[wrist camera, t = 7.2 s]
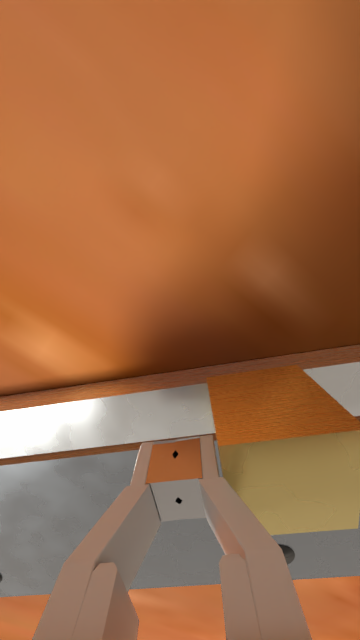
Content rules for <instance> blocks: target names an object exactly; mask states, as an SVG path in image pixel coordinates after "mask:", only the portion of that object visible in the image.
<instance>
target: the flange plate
mask: <svg viewBox="0 0 360 640" xmlns="http://www.w3.org/2000/svg"><path fill="white" fill-rule="evenodd" d="M354 417H355V418H356V419H357V420H358V421H359V422H360V416H354ZM206 435H213V439H214V445H215V451H216V457H217V463H218V469H219V475H220V477H223V475H222V469H221V464H220V458H219V452H218V446H217V440H216V434H215V433H211V434H203V435H194V436H186V437H178V438H169V439H161V440H152V441H144V442H136V443H127V444H119V445H110V446H102V447H94V448H85V449H77V450H68V451H60V452H52V453H43V454H35V455H27V456H18V457H10V458H1V459H0V597H9V596H26V595H42V594H51V593H52V590H53V588H54V585H55V583H56V581H57V578H58V576H59V573H60V571H61V569H62V566H63V564H64V562H65V561H66V560H67V559H68V557H69V556H70V555H71V554H72V553H73V551H74V550H75V549H76V548H77V546H78V545H79V544H80V543H81V541H82V540H83V539H84V538H85V536H86V535H87V534H88V533H89V532H90V530H91V529H92V528H93V527H94V525H95V524H96V523H97V522H98V520H99V519H100V518H101V517H102V515H103V514H104V513H105V512H106V511H107V509H108V508H109V507H110V506H111V504H112V503H113V502H114V501H115V499H116V498H117V497H118V496H119V494H120V493H121V492H122V491H123V489H124V488H125V487H126V486H130V483H131V479H132V476H133V472H134V468H135V464H136V460H137V456H138V452H139V448H140V446H141V444H142V443H146V442H155V441H166V440H176V439H183V438H190V437H198V436H206ZM272 538H273V539H274V540H275V541H276V543H277V544H278V545H279V546H280V548H281V549H282V551H283V554H284V557H285V560H286V563H287V566H288V569H289V572H290V575H291V578H292V580H296V579H312V578H329V577H346V576H360V515H359V525H358V529H345V530H332V531H319V532H306V533H293V534H280V535H273V536H272ZM223 555H225V553H224V551H223V549H222V547H221V545H220V543H219V542H218V540H217V538H216V536H215V534H214V532H213V530H212V528H211V527H210V525H209V523H208V521H207V518H198V519H181V520H173V521H164V522H161V525H160V527H159V529H158V531H157V533H156V535H155V537H154V539H153V541H152V544H151V546H150V548H149V550H148V552H147V554H146V556H145V558H144V560H143V562H142V564H141V566H140V568H139V570H138V572H137V574H136V576H135V578H134V580H133V582H132V584H131V587H130V589H144V588H161V587H177V586H194V585H211V584H221V579H220V569H219V562H220V560H221V558H222V556H223Z"/></svg>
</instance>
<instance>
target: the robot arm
mask: <svg viewBox="0 0 360 640" xmlns="http://www.w3.org/2000/svg"><path fill="white" fill-rule="evenodd" d="M198 518H207V521H208V523H209V525H210V527H211V528H212V530H213V532H214V534H215V536H216V538H217V540H218V542H219V543H220V545H221V547H222V549H223V551H224V553H225V555H223V556H222V558H221V560H220V562H219V569H220V579H221V589H222V599H223V610H224V620H225V630H226V640H312V638H311V635H310V632H309V629H308V626H307V623H306V620H305V617H304V614H303V611H302V608H301V605H300V602H299V599H298V596H297V593H296V590H295V587H294V584H293V581H292V578H291V575H290V572H289V569H288V566H287V563H286V560H285V557H284V554H283V551H282V549H281V548H280V546H279V545H278V544H277V543H276V541H275V540H274V539H273V538H272V536H271V535H270V534H269V533H268V532H267V530H266V529H265V528H264V527H263V525H262V524H261V523H260V522H259V520H258V519H257V518H256V517H255V515H254V514H253V513H252V512H251V510H250V509H249V508H248V507H247V505H246V504H245V503H244V502H243V500H242V499H241V498H240V497H239V496H238V494H237V493H236V492H235V491H234V489H233V488H232V487H231V486H230V484H229V483H228V482H227V481H226V479H225V478H224V477H220V475H219V469H218V463H217V457H216V451H215V445H214V439H213V435H206V436H198V437H190V438H183V439H176V440H166V441H155V442H146V443H142V444H141V446H140V448H139V452H138V456H137V460H136V464H135V468H134V472H133V476H132V479H131V483H130V486H126V487H125V488H124V489H123V491H122V492H121V493H120V494H119V496H118V497H117V498H116V499H115V501H114V502H113V503H112V504H111V506H110V507H109V508H108V509H107V511H106V512H105V513H104V514H103V515H102V517H101V518H100V519H99V520H98V522H97V523H96V524H95V525H94V527H93V528H92V529H91V530H90V532H89V533H88V534H87V535H86V536H85V538H84V539H83V540H82V541H81V543H80V544H79V545H78V546H77V548H76V549H75V550H74V551H73V553H72V554H71V555H70V556H69V557H68V559H67V560H66V561H65V562H64V564H63V566H62V569H61V571H60V573H59V576H58V578H57V581H56V583H55V585H54V588H53V590H52V593H51V595H50V598H49V600H48V602H47V605H46V607H45V610H44V612H43V614H42V617H41V619H40V622H39V624H38V627H37V629H36V631H35V634H34V636H33V639H32V640H137V634H138V626H139V619H138V616H137V614H136V611H135V609H134V607H133V604H132V602H131V600H130V597H129V595H128V591H129V589H130V587H131V584H132V582H133V580H134V578H135V576H136V574H137V572H138V570H139V568H140V566H141V564H142V562H143V560H144V558H145V556H146V554H147V552H148V550H149V548H150V546H151V544H152V541H153V539H154V537H155V535H156V533H157V531H158V529H159V527H160V525H161V522H164V521H173V520H181V519H198Z"/></svg>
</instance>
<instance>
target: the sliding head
mask: <svg viewBox="0 0 360 640" xmlns="http://www.w3.org/2000/svg"><path fill="white" fill-rule="evenodd" d="M206 379H207V385H208V391H209V398H210V404H211V410H212V416H213V422H214V428H215V434H216V440H217V446H218V452H219V458H220V464H221V469H222V475H223V477H224V478H225V479H226V481H227V482H228V483H229V484H230V486H231V487H232V488H233V489H234V491H235V492H236V493H237V494H238V496H239V497H240V498H241V499H242V500H243V502H244V503H245V504H246V505H247V507H248V508H249V509H250V510H251V512H252V513H253V514H254V515H255V517H256V518H257V519H258V520H259V522H260V523H261V524H262V525H263V527H264V528H265V529H266V530H267V532H268V533H269V534H270V535H271V536H273V535H280V534H293V533H306V532H319V531H332V530H345V529H358V525H359V515H360V422H359V421H358V420H357V419H356V418H355V417H354V416H353V415H352V414H350V413H349V412H348V411H347V410H346V409H345V408H344V407H343V406H342V405H341V404H340V403H338V402H337V401H336V400H335V399H334V398H333V397H332V396H331V395H330V394H329V393H327V392H326V391H325V390H324V389H323V388H322V387H321V386H320V385H319V384H318V383H316V382H315V381H314V380H313V379H312V378H311V377H310V376H309V375H308V374H307V373H305V372H304V371H303V370H302V369H301V368H300V367H299V366H298V365H290V366H283V367H276V368H269V369H262V370H255V371H248V372H241V373H234V374H226V375H219V376H212V377H206Z"/></svg>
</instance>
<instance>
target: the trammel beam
mask: <svg viewBox="0 0 360 640" xmlns="http://www.w3.org/2000/svg"><path fill="white" fill-rule="evenodd" d="M290 365H298V366H299V367H300V368H301V369H302V370H303V371H304V372H305V373H307V374H308V375H309V376H310V377H311V378H312V379H313V380H314V381H315V382H316V383H318V384H319V385H320V386H321V387H322V388H323V389H324V390H325V391H326V392H327V393H329V394H330V395H331V396H332V397H333V398H334V399H335V400H336V401H337V402H338V403H340V404H341V405H342V406H343V407H344V408H345V409H346V410H347V411H348V412H349V413H350V414H352V415H353V416H360V344H359V345H352V346H345V347H338V348H331V349H324V350H318V351H311V352H304V353H297V354H290V355H283V356H277V357H270V358H263V359H256V360H249V361H242V362H235V363H229V364H222V365H215V366H208V367H201V368H194V369H187V370H181V371H174V372H167V373H160V374H153V375H146V376H140V377H133V378H126V379H119V380H112V381H105V382H98V383H92V384H85V385H78V386H71V387H64V388H57V389H51V390H44V391H37V392H30V393H23V394H16V395H9V396H3V397H0V459H1V458H10V457H18V456H27V455H35V454H43V453H52V452H60V451H68V450H77V449H85V448H94V447H102V446H110V445H119V444H127V443H136V442H144V441H152V440H161V439H169V438H178V437H186V436H194V435H203V434H211V433H215V428H214V422H213V416H212V410H211V404H210V398H209V391H208V385H207V379H206V377H212V376H219V375H226V374H234V373H241V372H248V371H255V370H262V369H269V368H276V367H283V366H290Z"/></svg>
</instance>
